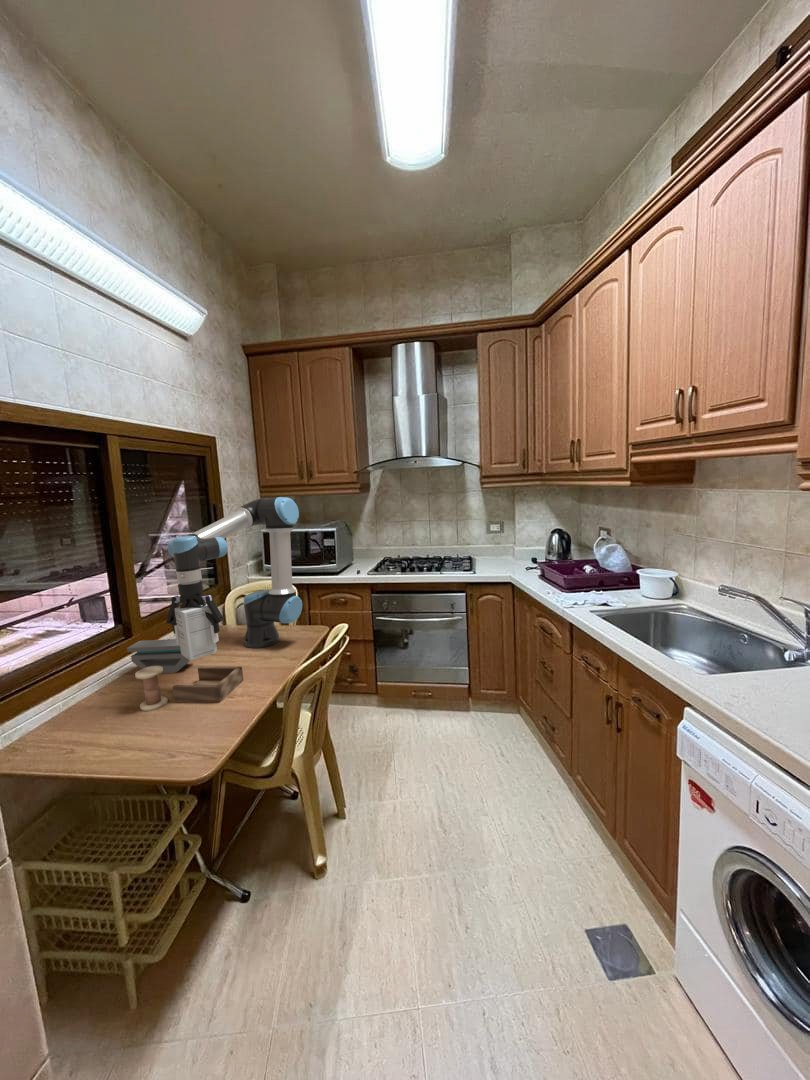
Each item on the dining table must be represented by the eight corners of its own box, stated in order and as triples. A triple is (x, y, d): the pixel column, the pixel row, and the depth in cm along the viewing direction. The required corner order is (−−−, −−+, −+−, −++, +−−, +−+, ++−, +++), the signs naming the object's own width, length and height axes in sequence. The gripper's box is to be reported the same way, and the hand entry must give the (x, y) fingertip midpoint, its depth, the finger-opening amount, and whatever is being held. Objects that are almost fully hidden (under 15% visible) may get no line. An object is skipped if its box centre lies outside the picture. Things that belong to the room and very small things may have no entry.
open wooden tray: (201, 680, 167) (200, 666, 166) (243, 680, 164) (241, 666, 164) (174, 701, 151) (172, 687, 150) (220, 702, 149) (218, 687, 148)
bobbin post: (151, 698, 154) (146, 665, 153) (172, 698, 153) (168, 665, 152) (134, 710, 147) (129, 676, 145) (157, 711, 146) (151, 676, 144)
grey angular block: (202, 663, 183) (199, 637, 181) (193, 671, 175) (189, 645, 174) (143, 666, 184) (139, 640, 182) (131, 674, 176) (126, 648, 175)
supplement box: (207, 646, 163) (202, 601, 160) (218, 652, 156) (212, 605, 154) (180, 654, 156) (173, 607, 154) (189, 661, 149) (183, 612, 147)
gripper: (149, 585, 151) (158, 646, 154) (217, 583, 147) (225, 645, 150) (164, 580, 158) (172, 638, 161) (229, 578, 154) (236, 637, 157)
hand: (197, 642), depth 156 cm, fingers closed on supplement box, 12 cm apart
